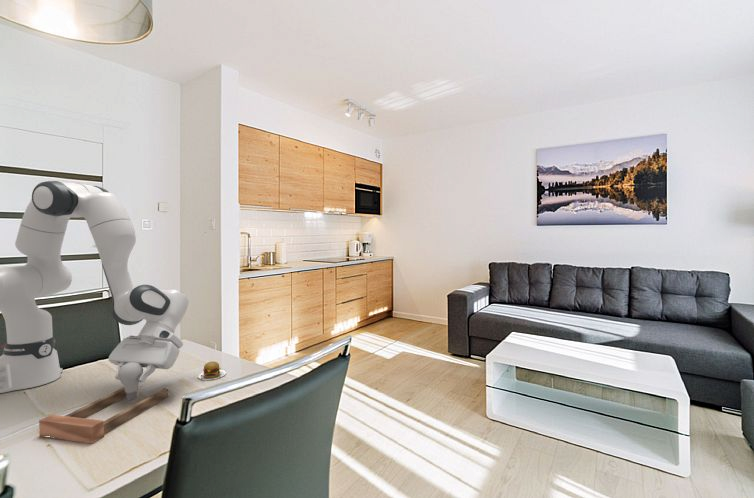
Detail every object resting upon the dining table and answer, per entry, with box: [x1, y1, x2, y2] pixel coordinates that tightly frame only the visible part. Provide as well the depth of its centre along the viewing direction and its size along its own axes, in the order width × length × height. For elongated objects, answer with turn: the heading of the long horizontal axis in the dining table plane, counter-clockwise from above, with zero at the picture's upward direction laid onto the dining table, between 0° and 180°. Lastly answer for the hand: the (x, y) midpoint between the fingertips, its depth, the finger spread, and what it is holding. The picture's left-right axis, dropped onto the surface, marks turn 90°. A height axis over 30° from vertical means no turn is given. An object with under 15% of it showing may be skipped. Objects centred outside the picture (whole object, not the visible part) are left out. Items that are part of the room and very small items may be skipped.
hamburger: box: [197, 361, 227, 381], centre depth 128 cm, size 12×12×6 cm
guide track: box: [38, 387, 169, 444], centre depth 100 cm, size 25×16×4 cm, turn 169°
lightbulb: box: [117, 362, 144, 401], centre depth 106 cm, size 6×6×11 cm
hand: (129, 380), depth 106 cm, fingers closed on lightbulb, 6 cm apart
